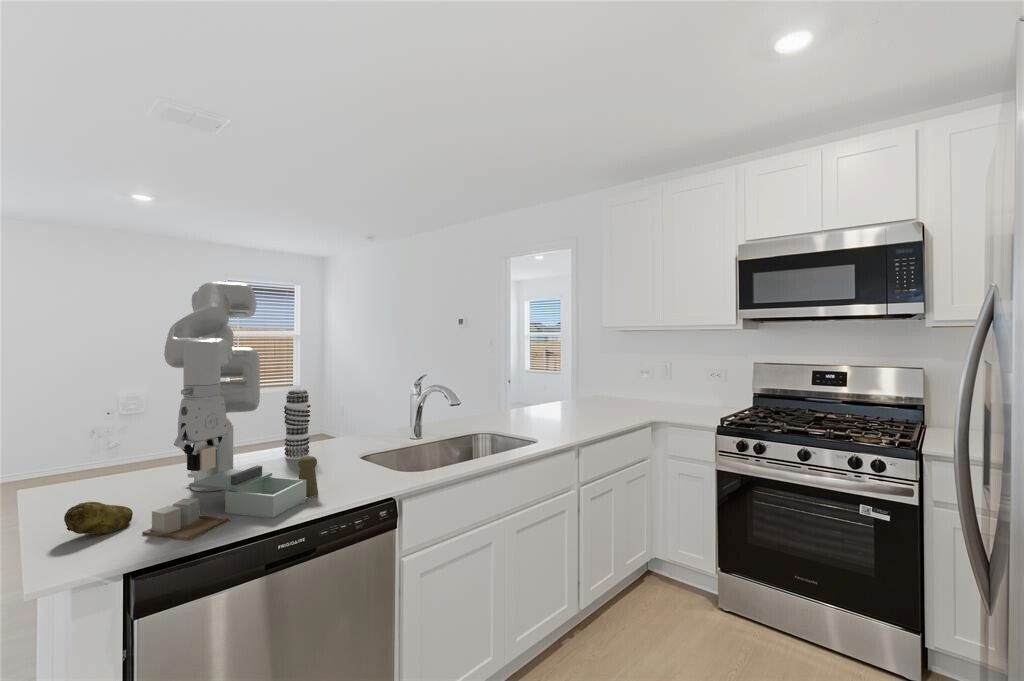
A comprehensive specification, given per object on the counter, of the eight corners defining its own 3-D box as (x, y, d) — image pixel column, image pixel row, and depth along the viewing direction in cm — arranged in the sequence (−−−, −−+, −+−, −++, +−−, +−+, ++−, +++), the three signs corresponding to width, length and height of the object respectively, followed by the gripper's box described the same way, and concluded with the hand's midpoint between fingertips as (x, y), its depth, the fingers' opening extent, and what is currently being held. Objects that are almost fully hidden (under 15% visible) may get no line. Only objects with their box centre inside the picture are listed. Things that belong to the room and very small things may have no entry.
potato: (138, 530, 119) (138, 497, 119) (66, 547, 109) (66, 511, 109) (130, 521, 124) (130, 489, 124) (61, 536, 115) (60, 501, 115)
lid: (189, 486, 132) (189, 474, 132) (229, 471, 145) (229, 460, 145) (236, 491, 129) (236, 478, 129) (272, 475, 143) (272, 464, 143)
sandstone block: (187, 469, 118) (187, 448, 118) (202, 465, 122) (202, 444, 122) (201, 471, 117) (201, 450, 117) (215, 466, 121) (215, 446, 121)
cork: (310, 498, 143) (310, 460, 142) (291, 496, 144) (291, 458, 144) (322, 491, 149) (322, 455, 148) (304, 490, 150) (304, 453, 150)
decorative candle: (295, 452, 193) (296, 387, 192) (315, 454, 190) (316, 389, 189) (277, 458, 184) (278, 390, 183) (298, 460, 181) (298, 392, 181)
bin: (225, 514, 130) (225, 491, 130) (262, 496, 144) (262, 475, 143) (273, 519, 127) (273, 496, 127) (306, 500, 141) (306, 479, 141)
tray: (142, 536, 116) (142, 531, 116) (185, 517, 127) (185, 513, 127) (190, 542, 113) (190, 537, 113) (230, 522, 125) (230, 518, 125)
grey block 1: (151, 532, 117) (151, 511, 117) (168, 526, 121) (168, 505, 121) (164, 535, 116) (164, 513, 115) (180, 528, 119) (180, 507, 119)
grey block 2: (172, 524, 122) (172, 504, 122) (183, 518, 126) (183, 498, 126) (188, 524, 122) (188, 504, 121) (199, 518, 126) (199, 498, 125)
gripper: (183, 397, 110) (183, 479, 111) (242, 388, 126) (241, 460, 127) (156, 395, 112) (156, 476, 113) (218, 386, 128) (217, 457, 129)
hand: (201, 466), depth 120 cm, fingers closed on sandstone block, 4 cm apart
